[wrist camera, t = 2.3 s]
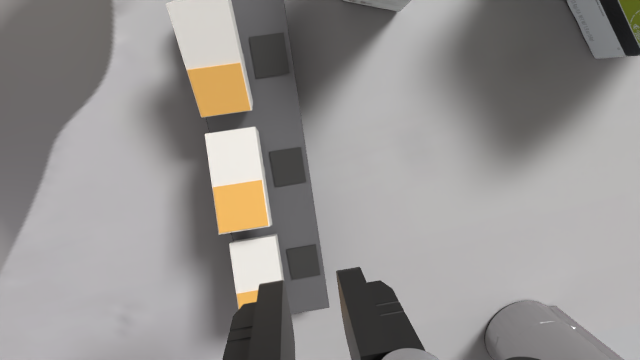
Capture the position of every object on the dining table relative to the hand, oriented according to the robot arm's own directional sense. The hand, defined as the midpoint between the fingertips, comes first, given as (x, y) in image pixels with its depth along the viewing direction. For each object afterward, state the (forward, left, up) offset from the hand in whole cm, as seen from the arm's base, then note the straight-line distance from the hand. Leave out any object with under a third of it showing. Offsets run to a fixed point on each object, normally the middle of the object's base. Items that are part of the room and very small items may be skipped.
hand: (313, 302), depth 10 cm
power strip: (+3, 0, -25) cm, 25 cm away
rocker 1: (+5, -9, -18) cm, 21 cm away
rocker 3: (+5, +10, -18) cm, 21 cm away
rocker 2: (+5, 0, -18) cm, 19 cm away
